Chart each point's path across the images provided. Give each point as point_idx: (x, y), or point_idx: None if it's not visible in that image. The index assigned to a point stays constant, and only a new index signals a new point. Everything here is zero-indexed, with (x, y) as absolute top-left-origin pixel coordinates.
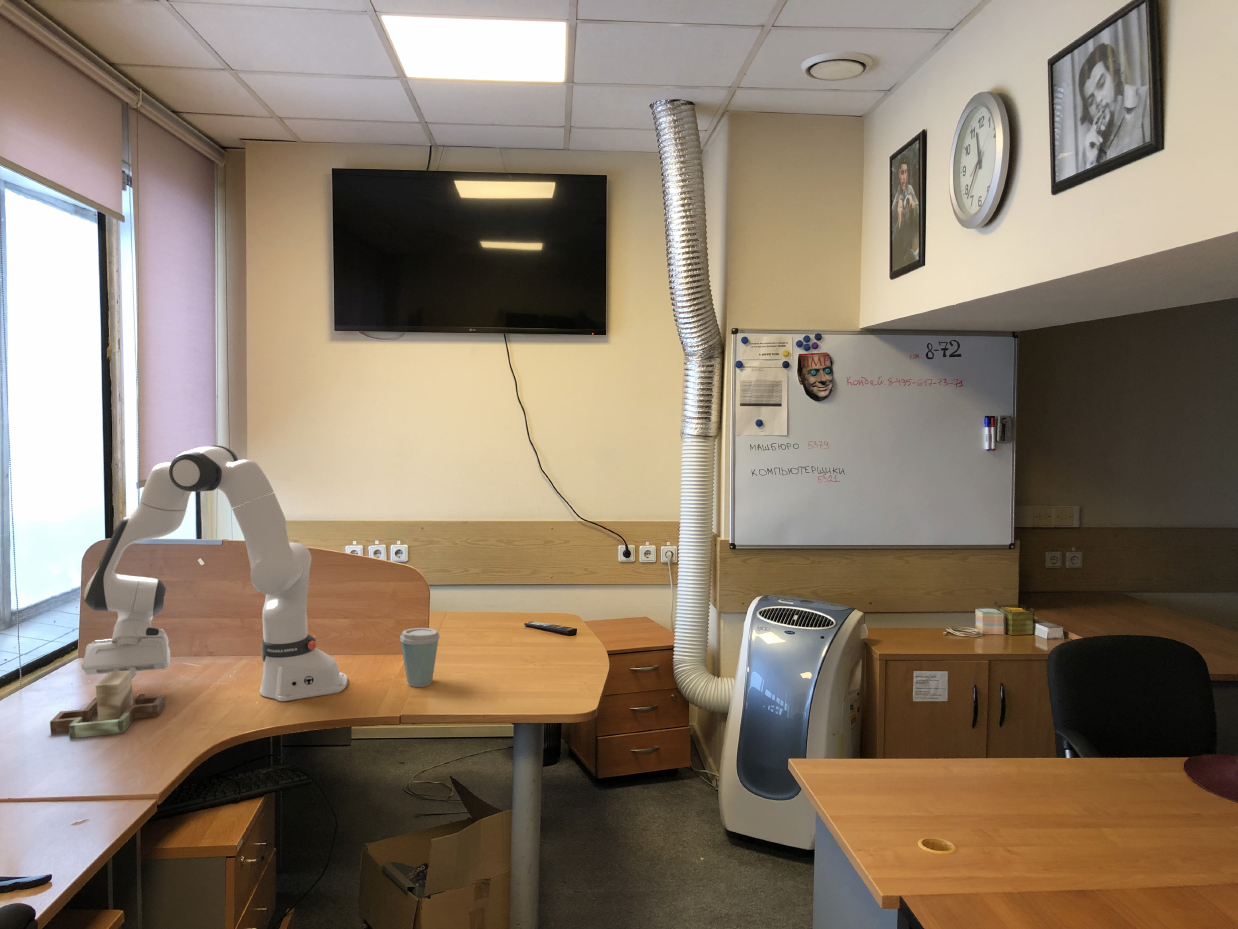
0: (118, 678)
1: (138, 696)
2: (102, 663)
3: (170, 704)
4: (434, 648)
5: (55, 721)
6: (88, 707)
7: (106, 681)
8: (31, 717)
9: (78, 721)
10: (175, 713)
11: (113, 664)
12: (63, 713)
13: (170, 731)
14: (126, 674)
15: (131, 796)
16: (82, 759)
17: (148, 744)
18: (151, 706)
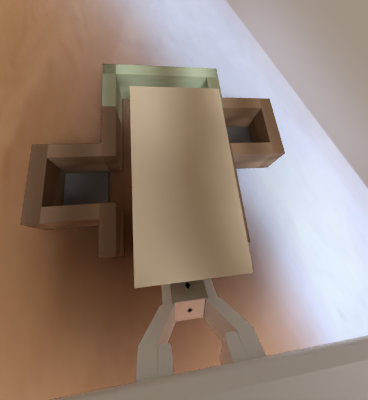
0: (156, 152)
1: (112, 228)
2: (366, 382)
3: (32, 247)
4: None
5: (258, 98)
6: None
7: (197, 126)
8: (352, 215)
9: (208, 87)
10: (7, 173)
11: (283, 376)
12: (269, 138)
13: (8, 74)
14: (135, 209)
15: None
16: (146, 14)
17: (46, 32)
18: (52, 145)
